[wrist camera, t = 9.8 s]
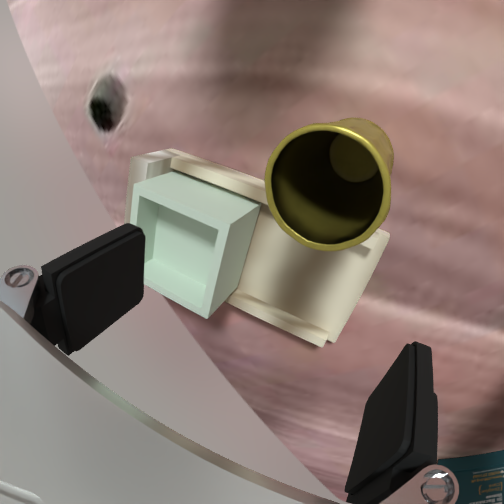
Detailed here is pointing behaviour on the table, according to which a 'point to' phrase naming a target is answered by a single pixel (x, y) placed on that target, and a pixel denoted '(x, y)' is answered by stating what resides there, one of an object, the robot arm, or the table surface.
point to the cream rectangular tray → (278, 257)
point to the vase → (331, 183)
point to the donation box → (478, 477)
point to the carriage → (193, 238)
